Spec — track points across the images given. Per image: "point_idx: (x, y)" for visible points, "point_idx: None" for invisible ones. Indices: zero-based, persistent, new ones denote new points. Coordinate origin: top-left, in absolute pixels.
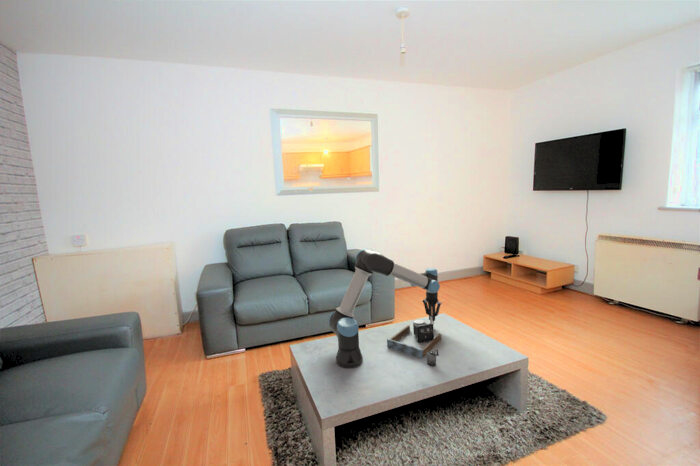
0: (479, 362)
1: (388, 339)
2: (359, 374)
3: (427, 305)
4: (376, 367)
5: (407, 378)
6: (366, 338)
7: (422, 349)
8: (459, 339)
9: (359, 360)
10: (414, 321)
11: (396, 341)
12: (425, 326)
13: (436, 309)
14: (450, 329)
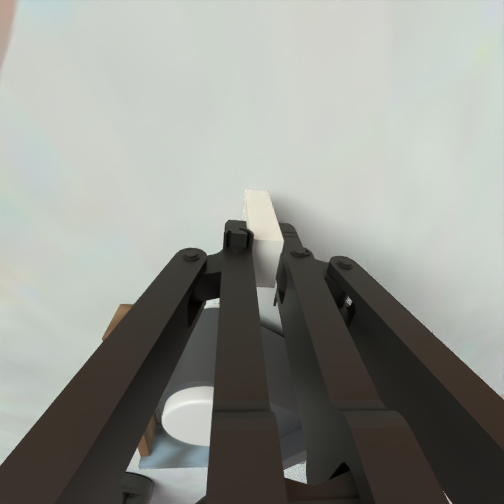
0: (496, 377)
1: (145, 467)
2: (180, 492)
3: (134, 388)
4: (197, 475)
5: (286, 470)
6: (25, 423)
7: (303, 461)
8: (457, 264)
9: (149, 500)
10: (175, 436)
11: (185, 465)
12: (283, 446)
13: (391, 406)
14: (410, 141)
